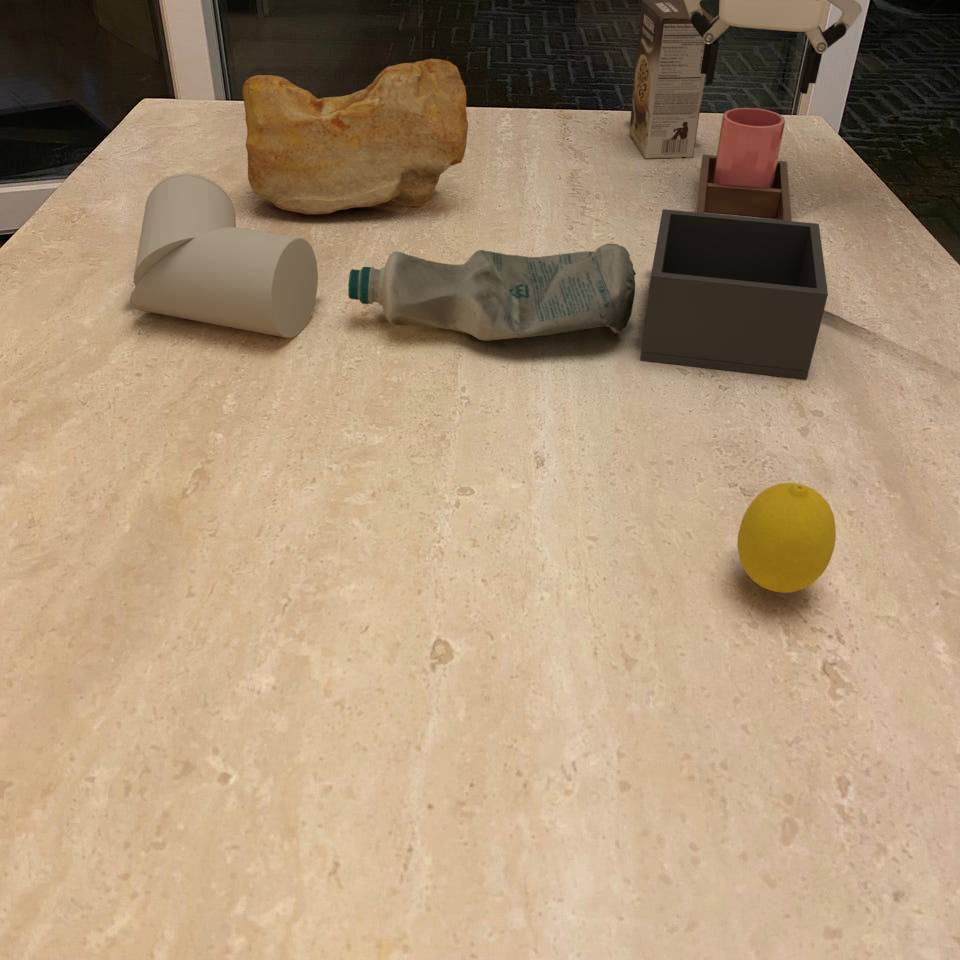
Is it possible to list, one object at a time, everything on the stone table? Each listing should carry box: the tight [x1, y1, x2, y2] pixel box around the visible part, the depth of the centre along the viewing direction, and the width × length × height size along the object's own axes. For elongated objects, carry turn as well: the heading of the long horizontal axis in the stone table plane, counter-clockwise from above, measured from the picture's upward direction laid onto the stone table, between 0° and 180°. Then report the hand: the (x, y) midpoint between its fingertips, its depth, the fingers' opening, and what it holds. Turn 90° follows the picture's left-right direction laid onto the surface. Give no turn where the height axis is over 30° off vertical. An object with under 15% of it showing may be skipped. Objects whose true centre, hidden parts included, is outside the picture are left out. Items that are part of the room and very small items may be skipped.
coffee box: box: [628, 0, 715, 159], centre depth 120 cm, size 9×6×16 cm
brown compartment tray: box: [694, 154, 793, 221], centre depth 108 cm, size 9×18×3 cm, turn 168°
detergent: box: [347, 243, 637, 342], centre depth 87 cm, size 13×7×25 cm
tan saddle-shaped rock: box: [242, 58, 469, 215], centre depth 108 cm, size 23×17×15 cm
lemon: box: [737, 482, 837, 593], centre depth 60 cm, size 6×6×8 cm
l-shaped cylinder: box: [129, 172, 319, 339], centre depth 89 cm, size 18×10×20 cm
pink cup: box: [712, 107, 786, 188], centre depth 109 cm, size 6×6×9 cm
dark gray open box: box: [640, 208, 829, 380], centre depth 86 cm, size 14×14×8 cm
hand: (755, 85), depth 104 cm, fingers open, 9 cm apart
